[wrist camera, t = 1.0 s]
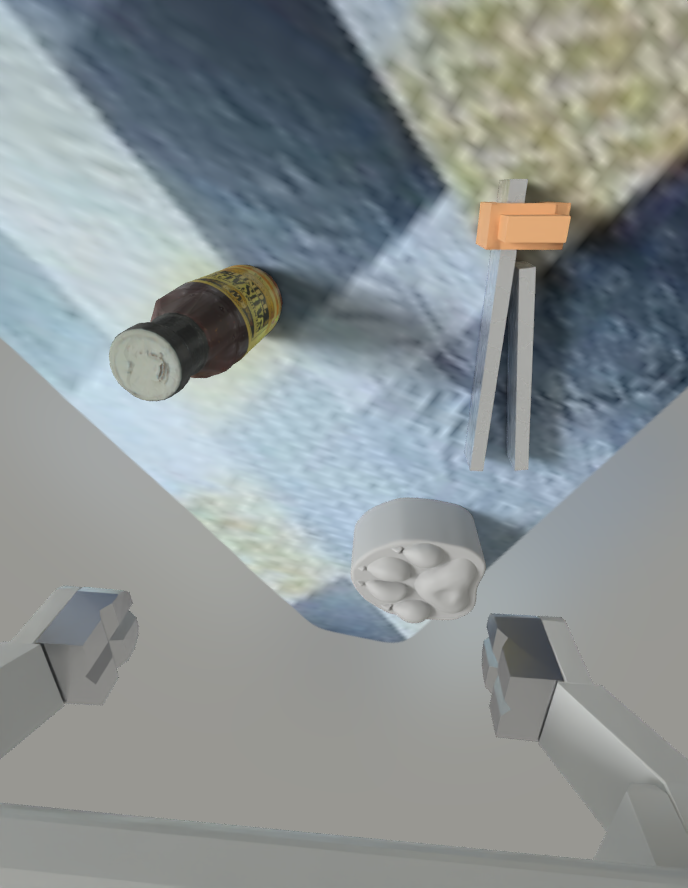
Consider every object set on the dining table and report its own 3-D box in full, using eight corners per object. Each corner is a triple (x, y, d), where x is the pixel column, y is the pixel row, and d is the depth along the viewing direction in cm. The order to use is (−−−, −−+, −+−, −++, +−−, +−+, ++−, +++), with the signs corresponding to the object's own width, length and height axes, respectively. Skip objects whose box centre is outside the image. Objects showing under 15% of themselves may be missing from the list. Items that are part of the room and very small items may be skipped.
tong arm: (508, 262, 39) (519, 269, 36) (523, 260, 39) (535, 266, 36) (506, 452, 47) (514, 470, 44) (518, 451, 47) (528, 469, 44)
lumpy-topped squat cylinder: (460, 576, 56) (472, 637, 48) (350, 563, 56) (344, 622, 49) (479, 504, 51) (496, 559, 43) (358, 490, 51) (354, 543, 44)
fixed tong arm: (499, 180, 37) (510, 179, 33) (515, 179, 36) (528, 179, 33) (464, 452, 48) (470, 470, 45) (476, 452, 48) (482, 471, 45)
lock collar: (480, 202, 37) (499, 204, 31) (551, 201, 37) (584, 204, 31) (476, 243, 39) (492, 253, 32) (544, 243, 38) (574, 253, 32)
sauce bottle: (299, 301, 42) (238, 380, 25) (252, 347, 44) (167, 449, 27) (244, 242, 40) (136, 283, 23) (198, 293, 42) (68, 366, 25)
